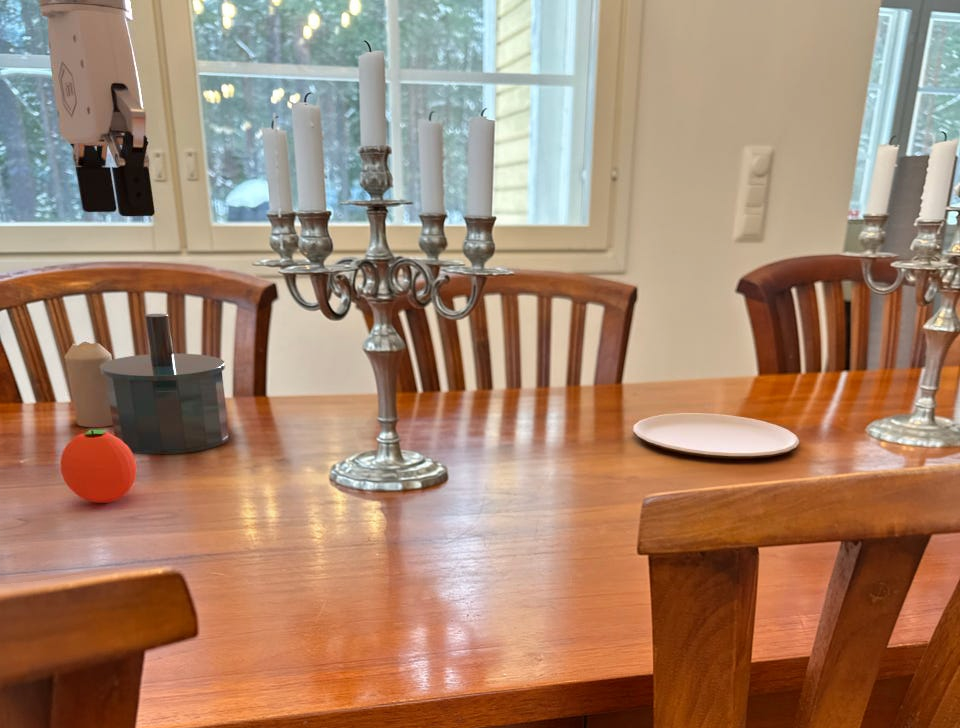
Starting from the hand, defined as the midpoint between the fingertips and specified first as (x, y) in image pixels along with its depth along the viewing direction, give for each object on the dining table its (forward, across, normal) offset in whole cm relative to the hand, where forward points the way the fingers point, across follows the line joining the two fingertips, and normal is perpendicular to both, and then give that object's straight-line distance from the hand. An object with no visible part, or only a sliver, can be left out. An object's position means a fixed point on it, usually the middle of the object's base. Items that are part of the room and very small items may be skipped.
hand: (118, 213), depth 86 cm
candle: (+26, -26, +2) cm, 36 cm away
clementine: (+26, +6, -8) cm, 28 cm away
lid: (+17, -12, +7) cm, 22 cm away
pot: (+26, -12, +7) cm, 29 cm away
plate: (+26, +28, +62) cm, 73 cm away
